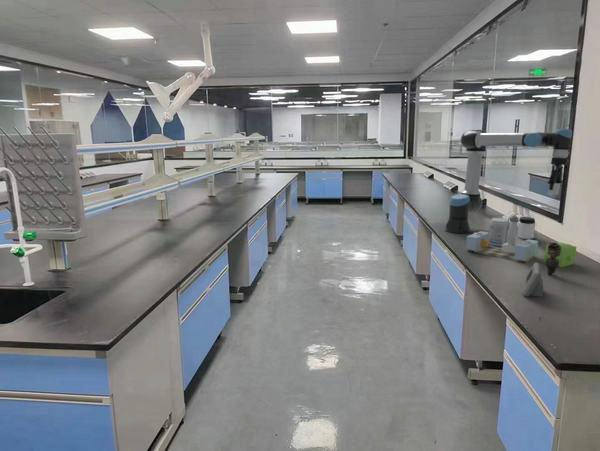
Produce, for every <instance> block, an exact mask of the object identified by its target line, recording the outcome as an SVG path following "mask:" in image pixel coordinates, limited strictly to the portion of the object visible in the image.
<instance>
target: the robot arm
mask: <svg viewBox="0 0 600 451" xmlns="http://www.w3.org/2000/svg"><path fill="white" fill-rule="evenodd" d="M572 135H573V130H572V129H566V128H561V129H559V128H558V129H557V130H556V132H499V133H498V132H493V133H492V132H490V133H488V132H487V131H485V130H482V129H470V130H469V129H468V130H466V131H465V132H463V134H462V135H461V137H460V144H461V145H462V147H464V148H465V149H466V150H465V151H466V152H467V164H466V172H465V182H464V188H463V190H462V191H461V193H459V194H454V195H452V196H451V197H450V200H449V211H448V212H449V213H448V220H447V222H446V225H445V229H444V230H445V231H446V232H448V233H453V234H454V233H455V234H468V233H470V232H471V227H470V222H469V214H471V213H474V212H477V211H478V210H480V209H481V207H482V205H483V198H482V197H481V192H480V191H479V190H480V189H479V188H480V180H481V179H480V178H481V172H482V171H481V170H482V163H483V154H484V153H486V150H487V147H529V148H535V147H553V149H552V157H551V160H550V164H551V165H552V170H551V173H550V176H549V179H548V182H547V184H548V187H547V188H548V189H547V193H546V194H547V197H548V196H549V197H553V196H554V195H555V196H557V195H558V196H559V194H560V188H561V184H563V181H562V180H563V179H562V178H563V170H564V169H563V168H564V166H567V163H568V157H569V154H570V153H571V152H570V148H571V143H572V139H571V137H572V138H573V136H572ZM569 147H570V148H569ZM568 151H569V152H568Z"/></svg>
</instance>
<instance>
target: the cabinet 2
mask: <svg viewBox="0 0 600 451" xmlns="http://www.w3.org/2000/svg"><path fill="white" fill-rule="evenodd" d="M538 248H539V240H534V239H525V240H522V242H519V243H517V245H516V247H515V256H514V259H518V260H523V261H525V260H527V259H529V258H531V257H533V256H534V255H535V256H536V255H537V254H538Z"/></svg>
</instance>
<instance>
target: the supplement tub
mask: <svg viewBox="0 0 600 451" xmlns="http://www.w3.org/2000/svg"><path fill="white" fill-rule="evenodd" d="M489 223H490V224H489V232H488V233H489V245H491V246H493V247H502V244H504V243H508V234H509V225H510V219H509V220H508V219H507V218H501V217H493V218H491V219H490V222H489Z"/></svg>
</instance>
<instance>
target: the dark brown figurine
mask: <svg viewBox="0 0 600 451" xmlns="http://www.w3.org/2000/svg"><path fill="white" fill-rule="evenodd" d="M549 244H550V245H549ZM549 244H547V245H548V246H547V245H546V246H547V247H548V249H547V250H548V252H547V253H548V254H549V255H550V258H547V259H546V263H545V266H546V268H547V272H546V273H547V274H548V275H550V276H551V275H552V274H555V273H556V272H555V271H556V269H557V268H559V267H558V266H559V260H558V259H556V257H558V256H559V255H560V252H561V249H562V247H561V246H560V245H559V244H557V242H549Z"/></svg>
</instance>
